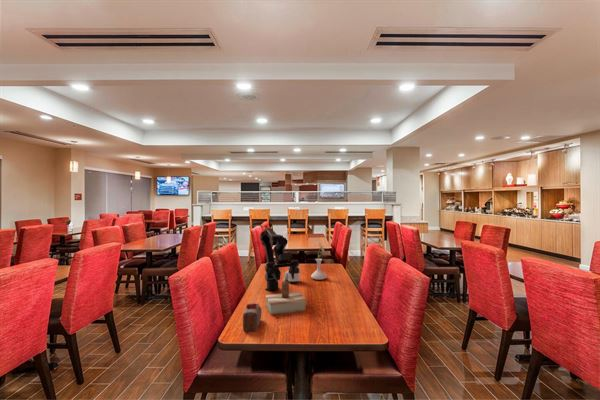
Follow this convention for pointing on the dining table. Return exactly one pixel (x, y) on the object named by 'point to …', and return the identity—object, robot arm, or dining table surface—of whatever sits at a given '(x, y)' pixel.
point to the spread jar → (288, 276)
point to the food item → (251, 317)
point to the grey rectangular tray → (285, 308)
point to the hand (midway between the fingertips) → (285, 279)
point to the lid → (285, 296)
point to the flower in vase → (319, 273)
